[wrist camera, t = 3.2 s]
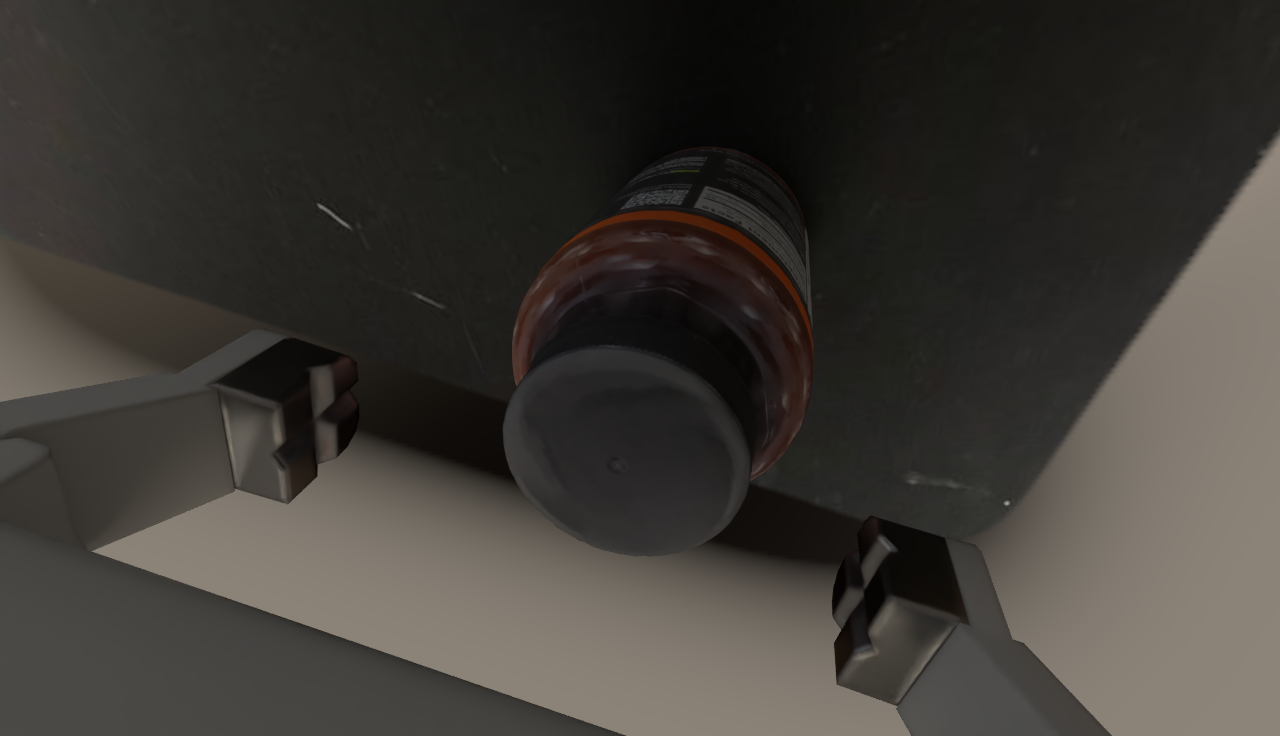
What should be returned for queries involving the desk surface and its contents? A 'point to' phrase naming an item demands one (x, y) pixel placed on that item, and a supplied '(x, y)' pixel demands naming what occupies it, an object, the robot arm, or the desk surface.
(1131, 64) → the desk surface
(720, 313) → the supplement bottle
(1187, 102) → the desk surface
